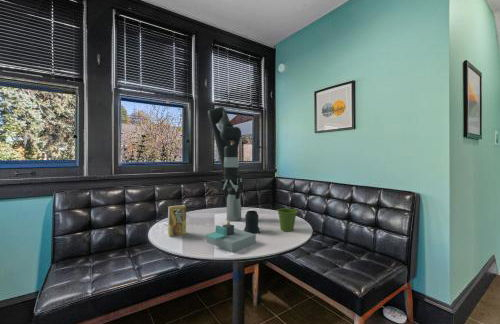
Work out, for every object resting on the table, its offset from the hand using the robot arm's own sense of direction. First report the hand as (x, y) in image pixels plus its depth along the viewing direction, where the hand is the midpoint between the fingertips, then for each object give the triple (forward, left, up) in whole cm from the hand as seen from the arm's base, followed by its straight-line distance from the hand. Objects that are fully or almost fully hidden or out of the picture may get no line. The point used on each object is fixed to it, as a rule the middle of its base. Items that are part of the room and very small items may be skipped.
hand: (231, 197), depth 116 cm
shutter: (+11, +1, -17) cm, 20 cm away
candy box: (+15, -27, -21) cm, 37 cm away
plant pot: (-33, +12, -21) cm, 41 cm away
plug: (+3, +1, -21) cm, 22 cm away
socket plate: (+3, +3, -21) cm, 22 cm away
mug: (-18, -2, -21) cm, 28 cm away
